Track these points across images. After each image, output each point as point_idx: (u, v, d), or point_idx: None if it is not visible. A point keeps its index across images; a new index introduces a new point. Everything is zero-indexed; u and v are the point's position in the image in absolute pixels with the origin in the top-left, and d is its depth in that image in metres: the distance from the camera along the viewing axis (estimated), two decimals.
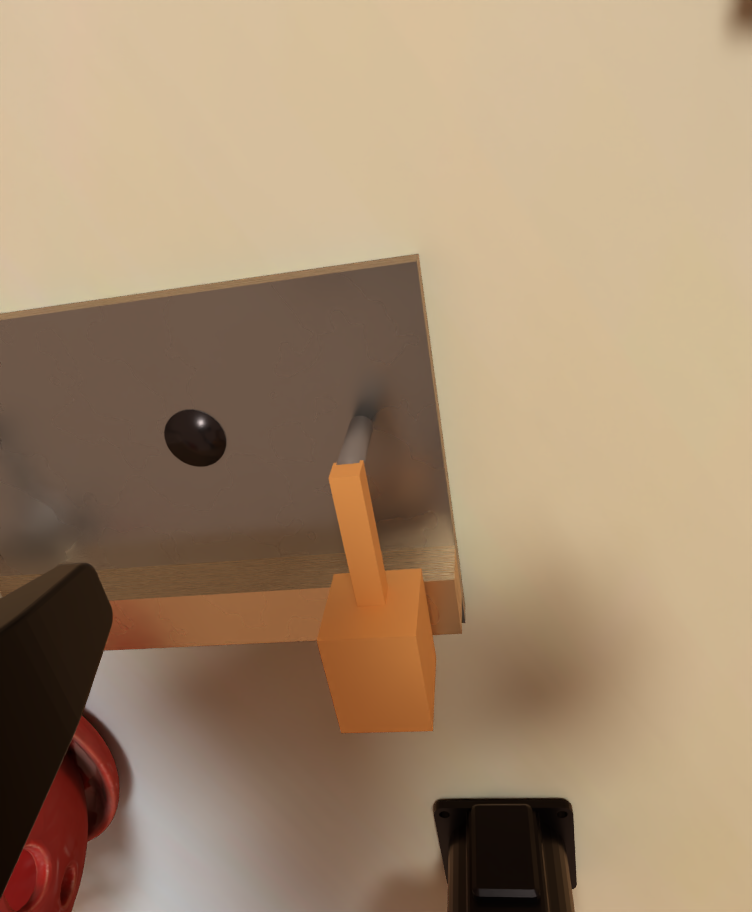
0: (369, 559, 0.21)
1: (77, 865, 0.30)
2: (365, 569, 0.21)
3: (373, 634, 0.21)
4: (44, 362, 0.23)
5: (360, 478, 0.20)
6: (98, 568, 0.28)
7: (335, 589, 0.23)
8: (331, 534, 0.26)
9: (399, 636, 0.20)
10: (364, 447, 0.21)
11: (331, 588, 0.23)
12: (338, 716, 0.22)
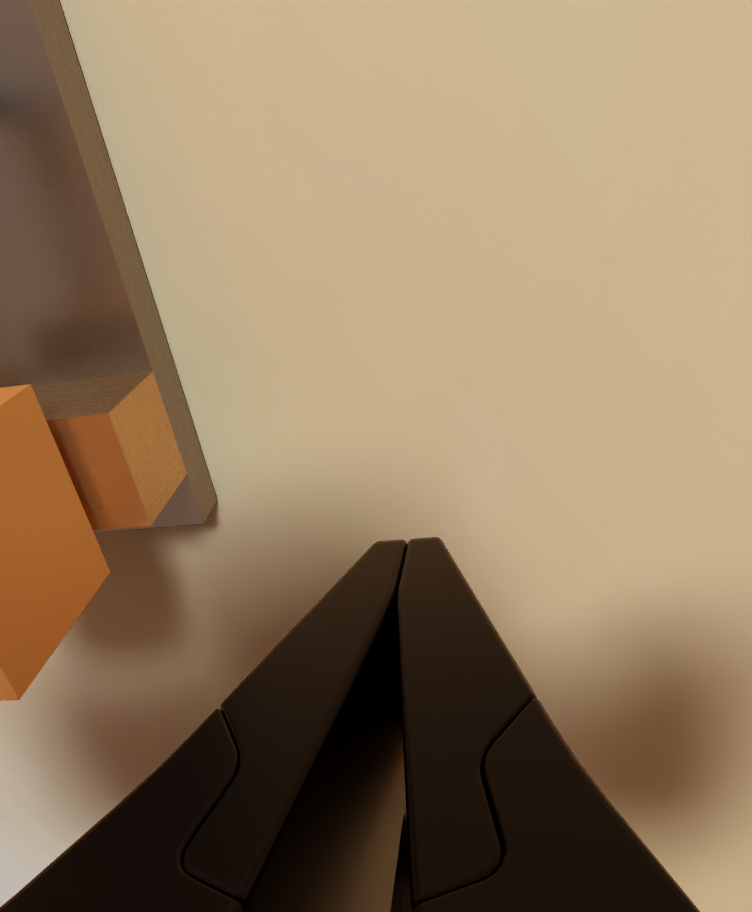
0: None
1: None
2: None
3: None
4: None
5: None
6: None
7: None
8: None
9: None
10: None
11: None
12: None
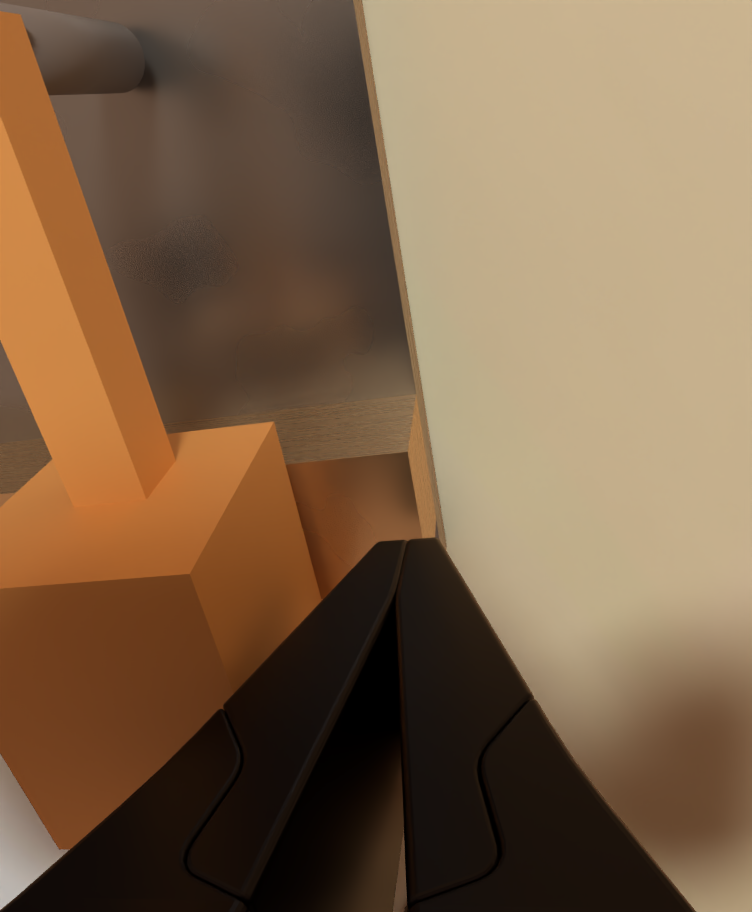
0: (69, 348, 0.07)
1: None
2: (66, 383, 0.07)
3: (71, 573, 0.07)
4: None
5: None
6: None
7: (48, 474, 0.09)
8: None
9: (141, 576, 0.06)
10: (63, 28, 0.07)
11: (41, 473, 0.09)
12: (39, 808, 0.08)
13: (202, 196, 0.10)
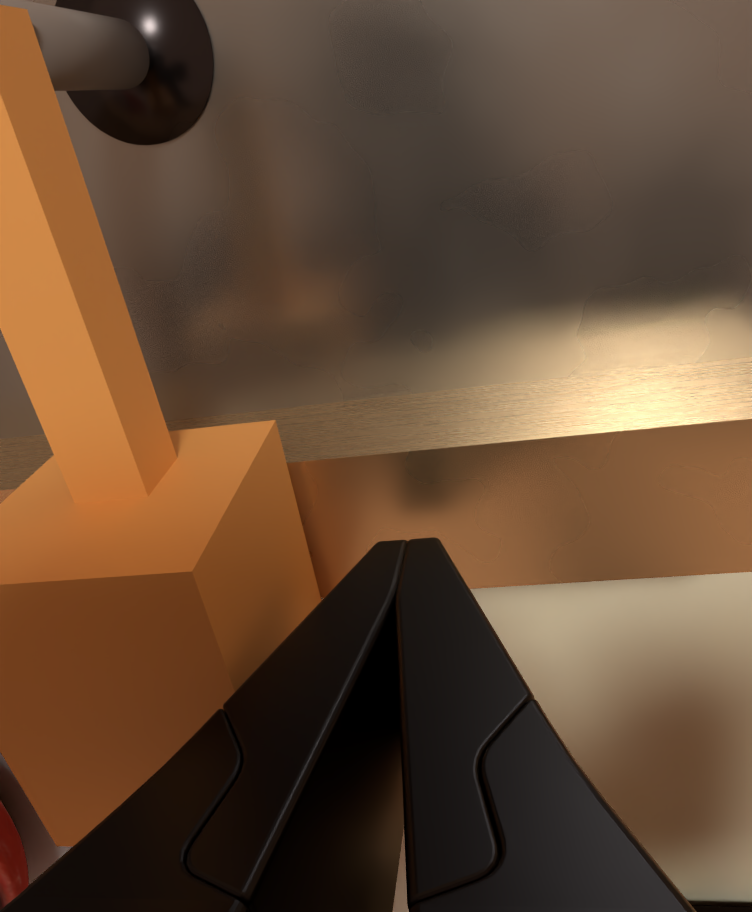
0: (73, 345, 0.07)
1: None
2: (69, 380, 0.07)
3: (72, 570, 0.07)
4: None
5: None
6: None
7: (48, 470, 0.09)
8: (470, 334, 0.11)
9: (143, 572, 0.06)
10: (68, 23, 0.07)
11: (41, 469, 0.09)
12: (37, 805, 0.08)
13: (591, 128, 0.09)
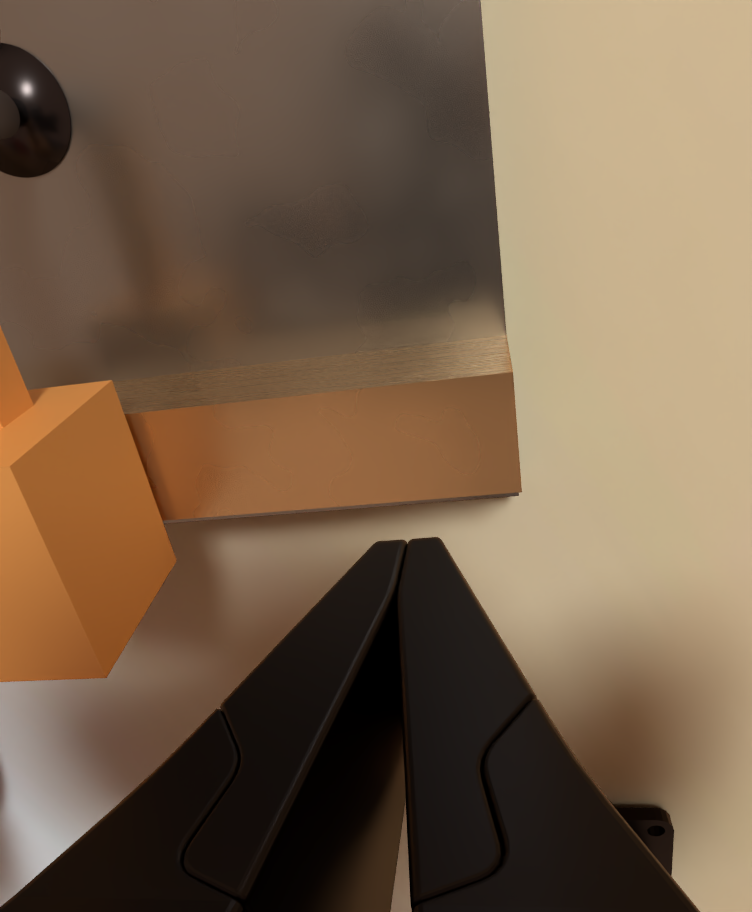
0: None
1: None
2: None
3: None
4: None
5: None
6: None
7: None
8: (278, 320, 0.14)
9: None
10: None
11: None
12: None
13: (344, 168, 0.12)
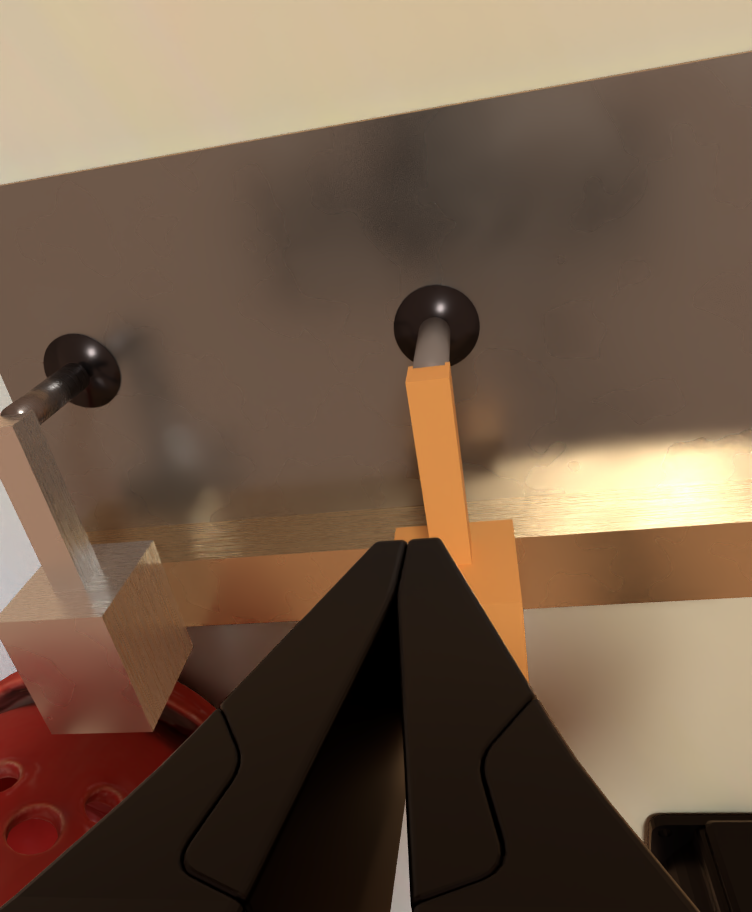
0: (454, 499, 0.15)
1: None
2: (448, 513, 0.16)
3: None
4: (239, 217, 0.17)
5: (449, 382, 0.14)
6: (271, 514, 0.21)
7: None
8: (601, 463, 0.19)
9: (498, 602, 0.15)
10: (446, 350, 0.16)
11: None
12: None
13: (675, 368, 0.18)
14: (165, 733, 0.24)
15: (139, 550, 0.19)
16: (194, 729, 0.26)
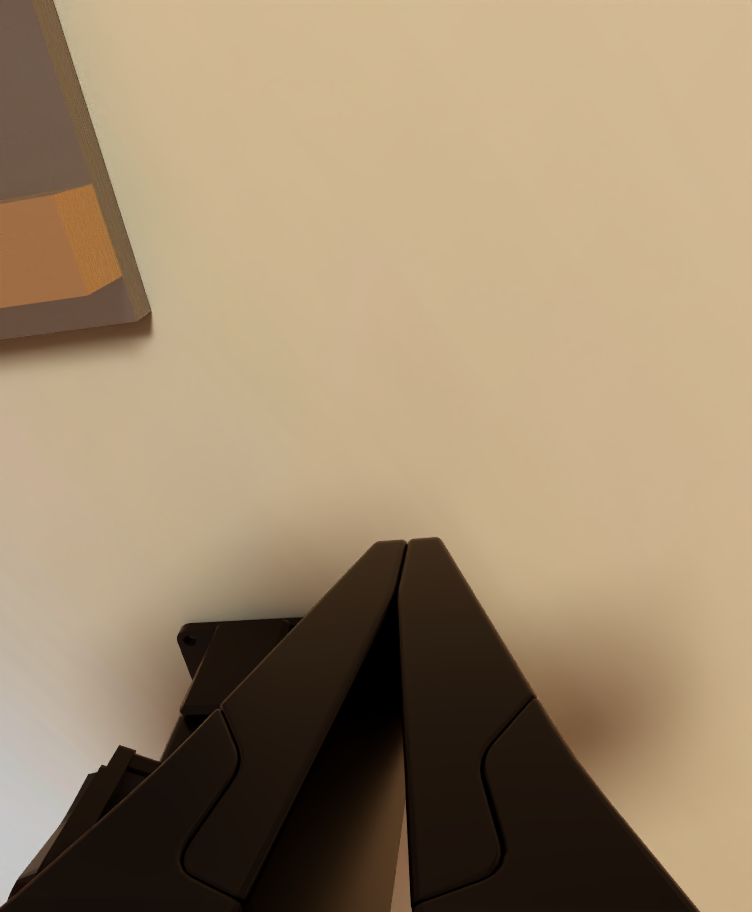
0: None
1: None
2: None
3: None
4: None
5: None
6: None
7: None
8: None
9: None
10: None
11: None
12: None
13: None
14: None
15: None
16: None
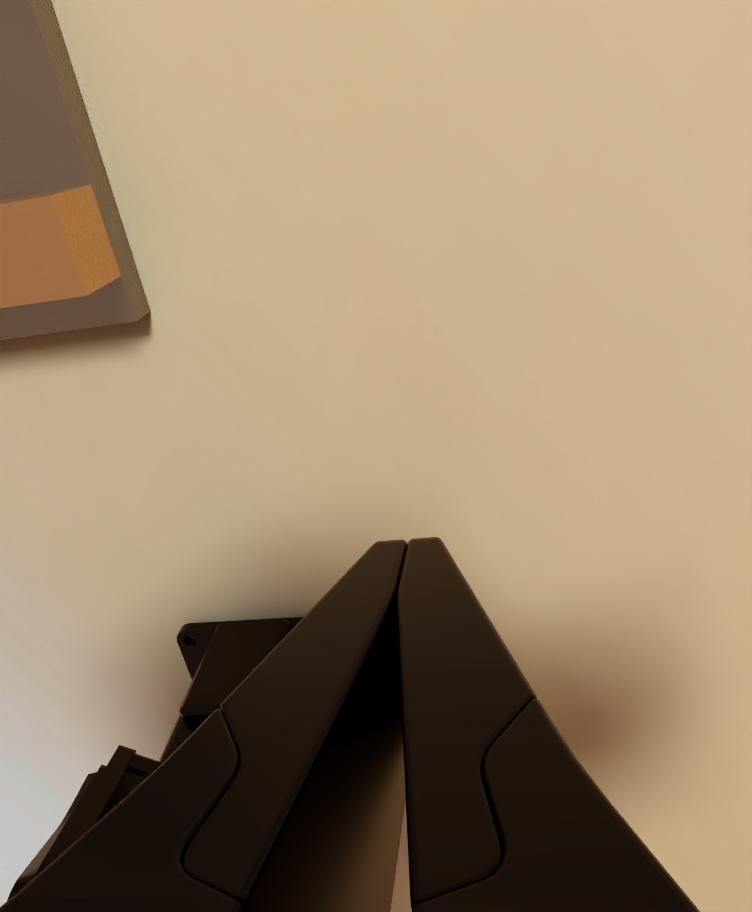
0: None
1: None
2: None
3: None
4: None
5: None
6: None
7: None
8: None
9: None
10: None
11: None
12: None
13: None
14: None
15: None
16: None
